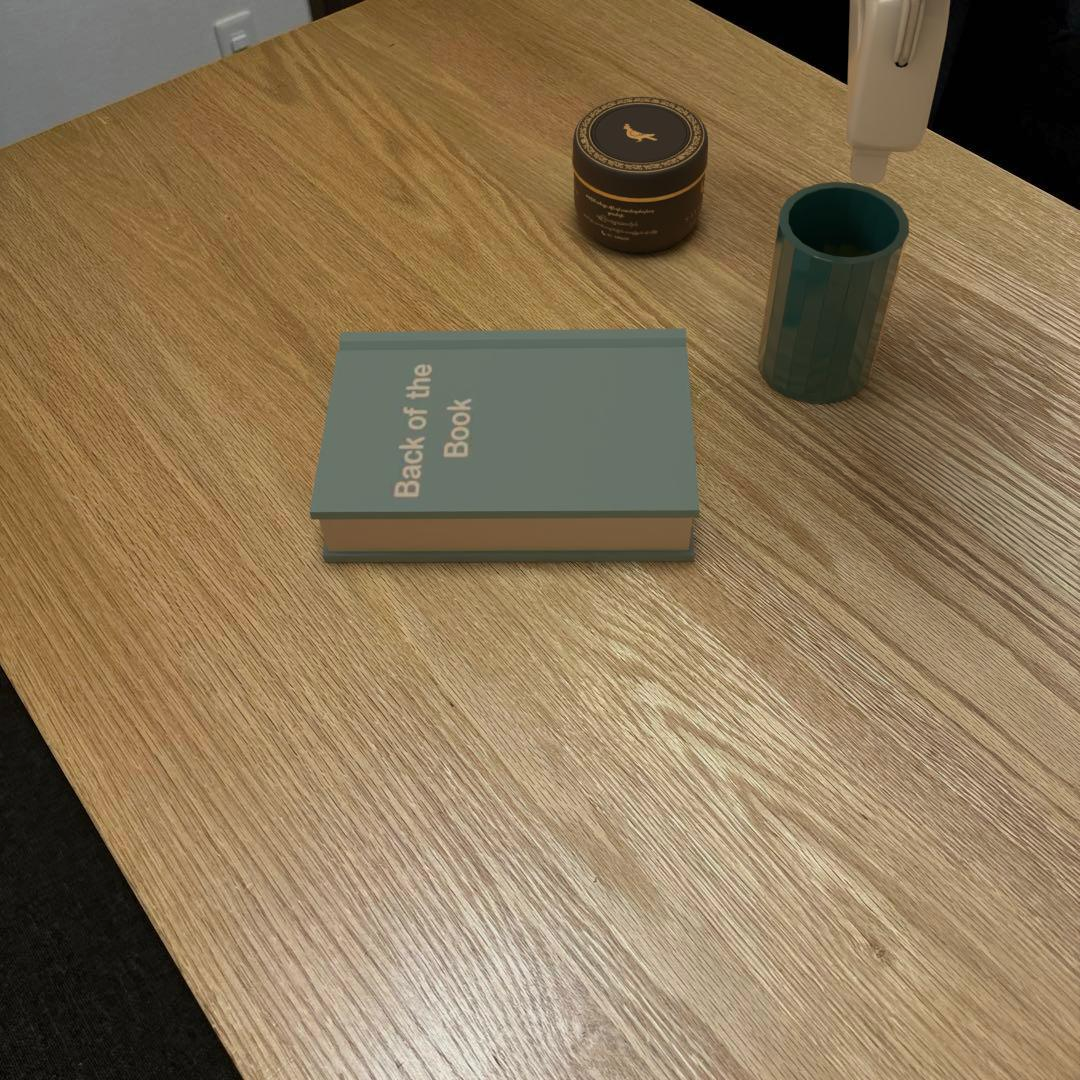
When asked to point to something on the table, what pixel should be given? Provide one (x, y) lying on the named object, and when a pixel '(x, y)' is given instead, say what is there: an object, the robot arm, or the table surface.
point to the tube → (830, 290)
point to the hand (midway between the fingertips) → (866, 124)
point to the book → (508, 447)
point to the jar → (639, 173)
